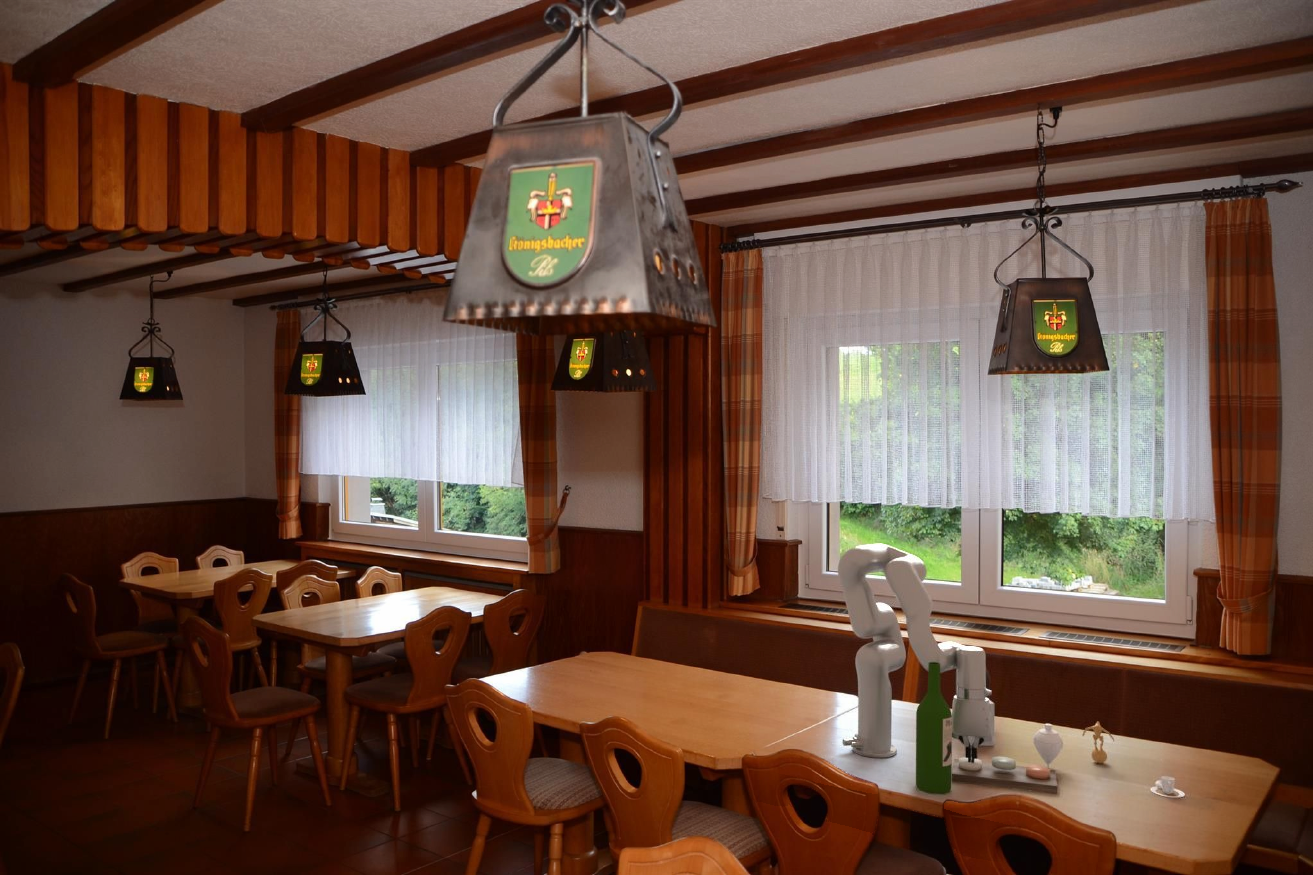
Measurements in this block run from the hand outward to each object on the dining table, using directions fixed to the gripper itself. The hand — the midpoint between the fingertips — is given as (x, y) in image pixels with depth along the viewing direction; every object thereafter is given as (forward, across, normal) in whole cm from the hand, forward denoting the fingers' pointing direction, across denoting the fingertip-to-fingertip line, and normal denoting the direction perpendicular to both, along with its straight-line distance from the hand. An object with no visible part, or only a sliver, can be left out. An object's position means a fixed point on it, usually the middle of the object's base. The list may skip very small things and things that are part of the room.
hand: (971, 760), depth 261 cm
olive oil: (+4, +1, -49) cm, 49 cm away
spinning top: (+4, -20, -15) cm, 25 cm away
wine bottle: (+4, +9, +14) cm, 17 cm away
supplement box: (+4, -1, -32) cm, 32 cm away
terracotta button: (+2, -17, 0) cm, 17 cm away
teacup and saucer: (+5, -51, -7) cm, 51 cm away
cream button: (+2, 0, 0) cm, 2 cm away
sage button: (+1, -8, 0) cm, 8 cm away
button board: (+4, -8, 0) cm, 9 cm away
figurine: (+4, -33, -23) cm, 41 cm away
